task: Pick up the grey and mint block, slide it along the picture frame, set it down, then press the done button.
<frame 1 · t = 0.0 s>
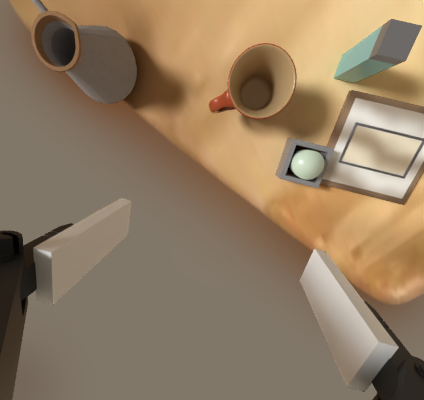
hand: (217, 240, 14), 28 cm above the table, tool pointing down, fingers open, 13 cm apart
button frame: (299, 161, 39), on the table
grey and mint block: (348, 69, 34), on the table
mug: (245, 100, 37), on the table
picture frame: (376, 150, 37), on the table
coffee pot: (97, 44, 37), on the table
done button: (305, 163, 35), point 4 cm above the table, slide at 0.0 cm
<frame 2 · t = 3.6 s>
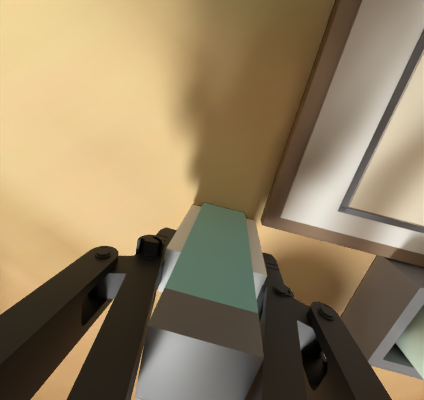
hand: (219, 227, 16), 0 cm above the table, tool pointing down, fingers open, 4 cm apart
button frame: (399, 298, 17), on the table
grey and mint block: (219, 226, 17), on the table
picture frame: (421, 134, 13), on the table
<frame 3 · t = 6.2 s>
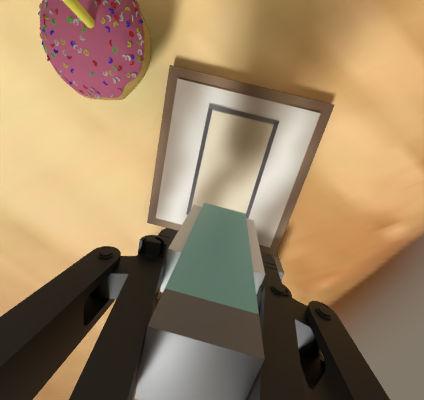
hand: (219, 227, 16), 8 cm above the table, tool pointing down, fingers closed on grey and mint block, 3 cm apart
grey and mint block: (219, 226, 17), point 8 cm above the table, touching gripper
picture frame: (228, 169, 23), on the table
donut: (126, 62, 21), on the table
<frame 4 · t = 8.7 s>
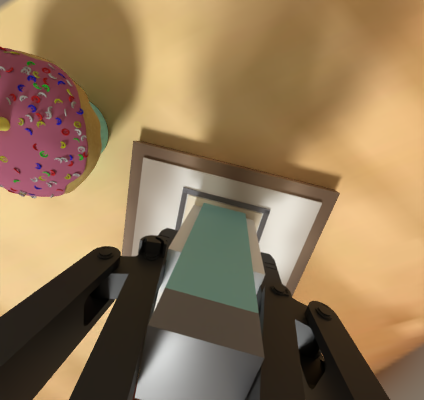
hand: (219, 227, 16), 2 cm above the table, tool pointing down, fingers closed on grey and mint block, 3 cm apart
grey and mint block: (219, 226, 17), point 1 cm above the table, touching picture frame, gripper
picture frame: (211, 253, 19), on the table
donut: (83, 131, 17), on the table
when the fingers open (2 cm above the table, at t = 8.9 s): grey and mint block stays where it is, resting on picture frame.
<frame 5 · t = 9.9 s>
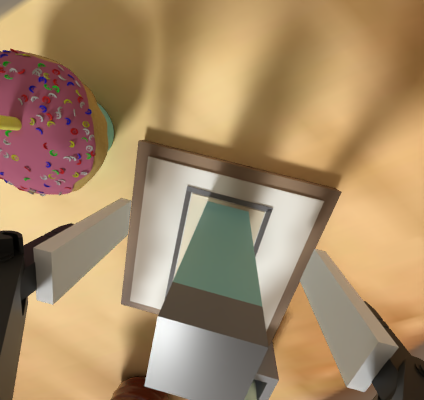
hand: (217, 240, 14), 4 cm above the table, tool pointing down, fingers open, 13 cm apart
button frame: (231, 352, 23), on the table
grey and mint block: (222, 224, 17), point 1 cm above the table, touching picture frame
mug: (150, 397, 28), on the table
picture frame: (214, 251, 19), on the table
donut: (89, 131, 17), on the table
done button: (231, 389, 20), point 4 cm above the table, slide at 0.0 cm
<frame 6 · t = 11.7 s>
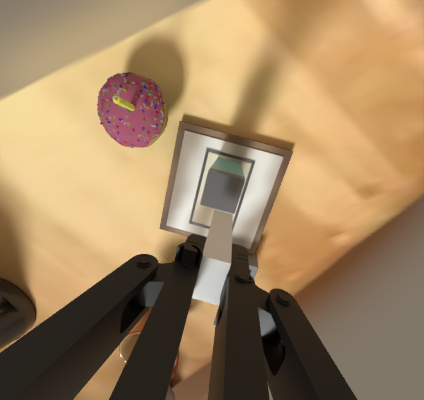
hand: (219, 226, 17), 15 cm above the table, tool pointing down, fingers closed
grey and mint block: (226, 171, 29), point 1 cm above the table, touching picture frame
mug: (172, 306, 40), on the table
picture frame: (220, 191, 32), on the table
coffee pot: (138, 389, 49), on the table
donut: (148, 115, 29), on the table
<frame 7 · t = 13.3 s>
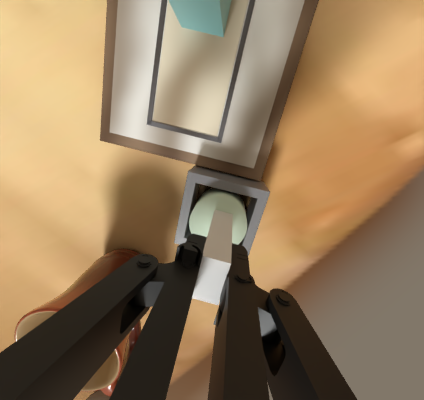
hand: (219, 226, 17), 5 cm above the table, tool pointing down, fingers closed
button frame: (221, 205, 22), on the table
grey and mint block: (207, 5, 15), point 1 cm above the table, touching picture frame
mug: (136, 279, 26), on the table
picture frame: (199, 63, 18), on the table
done button: (219, 217, 18), point 3 cm above the table, slide at 0.2 cm, touching gripper
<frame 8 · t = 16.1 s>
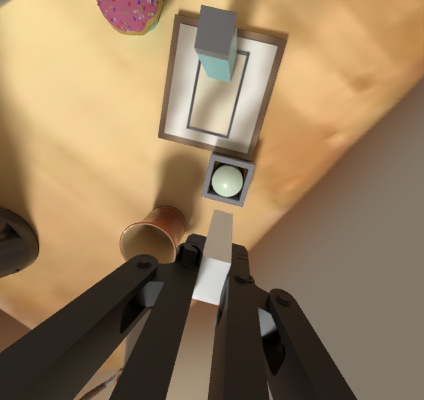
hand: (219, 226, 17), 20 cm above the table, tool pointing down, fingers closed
button frame: (228, 176, 36), on the table
grey and mint block: (222, 66, 30), point 1 cm above the table, touching picture frame
mug: (172, 228, 40), on the table
picture frame: (216, 94, 32), on the table
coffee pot: (141, 326, 50), on the table
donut: (144, 14, 30), on the table
done button: (227, 179, 34), point 2 cm above the table, slide at 1.1 cm
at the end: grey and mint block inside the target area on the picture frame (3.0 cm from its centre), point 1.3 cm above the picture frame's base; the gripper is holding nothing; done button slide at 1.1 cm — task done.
